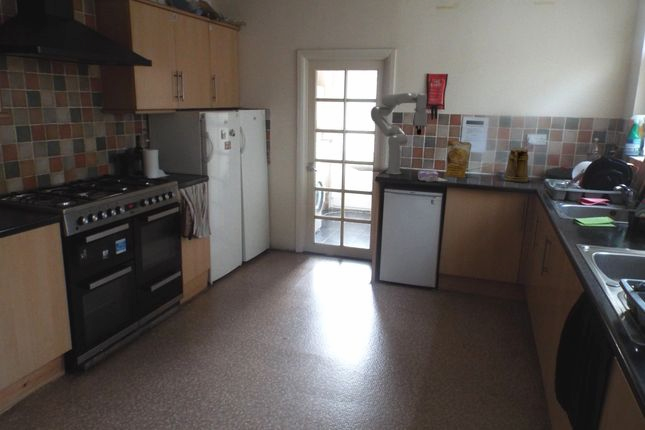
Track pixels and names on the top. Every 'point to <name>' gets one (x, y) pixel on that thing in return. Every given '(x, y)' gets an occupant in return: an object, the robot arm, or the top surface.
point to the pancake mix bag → (457, 158)
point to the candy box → (428, 175)
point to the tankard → (517, 166)
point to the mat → (438, 180)
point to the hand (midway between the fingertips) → (418, 134)
